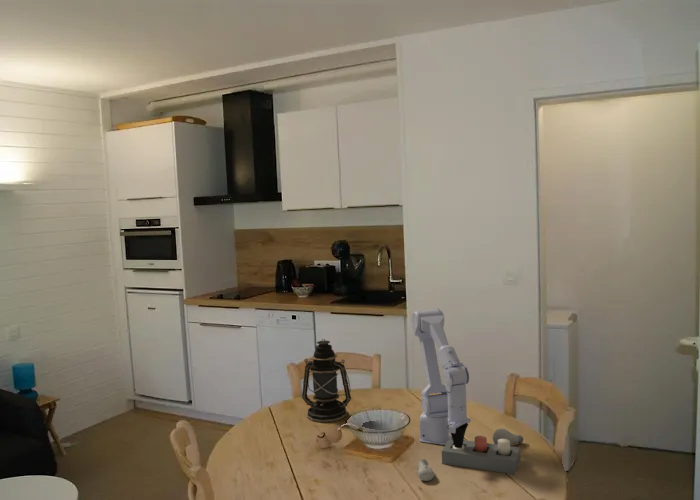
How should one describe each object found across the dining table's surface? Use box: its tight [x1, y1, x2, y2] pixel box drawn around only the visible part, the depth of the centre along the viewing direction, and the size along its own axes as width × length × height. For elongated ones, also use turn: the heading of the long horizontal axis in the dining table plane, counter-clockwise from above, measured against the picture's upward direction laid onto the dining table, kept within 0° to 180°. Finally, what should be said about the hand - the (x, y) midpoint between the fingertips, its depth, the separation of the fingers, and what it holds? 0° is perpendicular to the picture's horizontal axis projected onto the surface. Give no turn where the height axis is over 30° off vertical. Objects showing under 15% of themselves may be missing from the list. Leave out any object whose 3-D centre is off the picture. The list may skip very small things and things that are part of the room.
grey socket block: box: [441, 438, 522, 475], centre depth 177 cm, size 22×10×4 cm, turn 65°
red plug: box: [474, 435, 488, 452], centre depth 177 cm, size 4×4×4 cm
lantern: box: [301, 338, 352, 423], centre depth 222 cm, size 20×16×30 cm
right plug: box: [498, 439, 511, 456], centre depth 174 cm, size 4×4×4 cm
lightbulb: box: [492, 428, 524, 446], centre depth 187 cm, size 6×6×11 cm
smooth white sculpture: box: [416, 458, 435, 482], centre depth 169 cm, size 4×8×5 cm
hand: (458, 447), depth 180 cm, fingers closed, pressing on left plug
